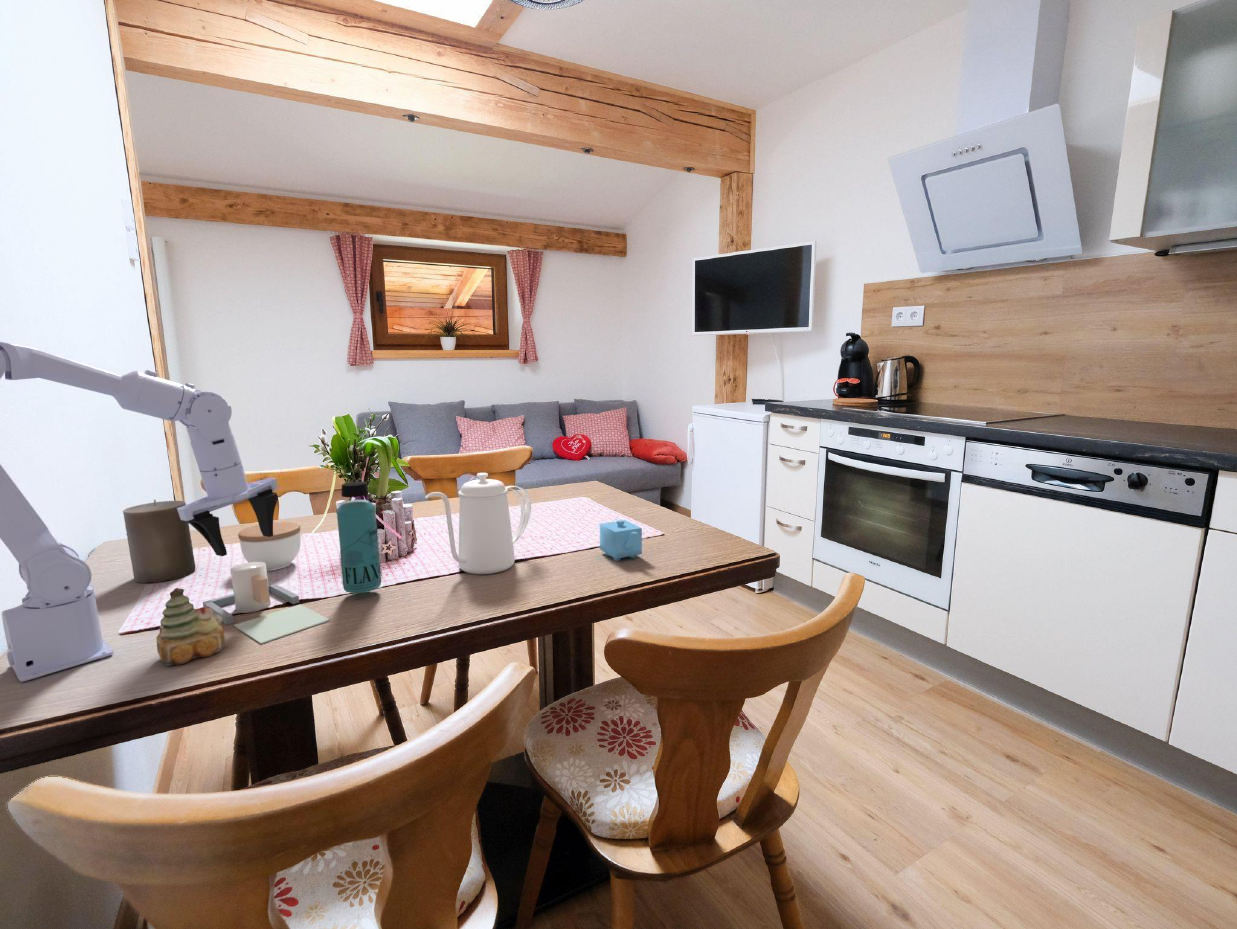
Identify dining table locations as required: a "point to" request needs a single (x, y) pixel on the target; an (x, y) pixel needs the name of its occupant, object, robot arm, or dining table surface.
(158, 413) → the robot arm
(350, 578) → the beverage bottle
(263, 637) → the pad
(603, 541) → the teapot
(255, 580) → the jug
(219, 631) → the ornament
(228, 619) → the cradle
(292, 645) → the dining table surface
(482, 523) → the coffeepot
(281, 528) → the lidded jar
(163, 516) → the pillar candle
